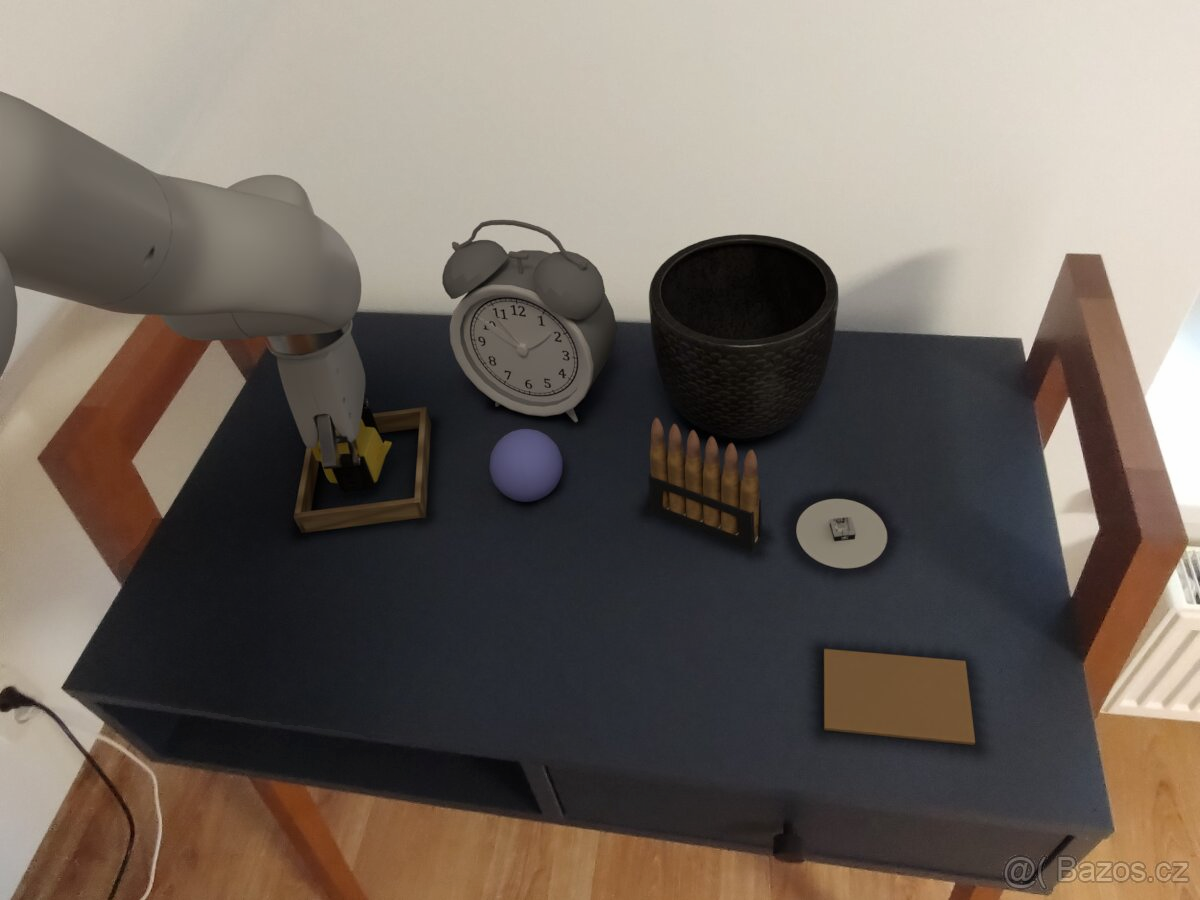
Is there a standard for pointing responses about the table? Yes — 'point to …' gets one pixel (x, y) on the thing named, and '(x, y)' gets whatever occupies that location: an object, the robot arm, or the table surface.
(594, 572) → the table surface
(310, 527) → the wooden frame
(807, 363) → the planter
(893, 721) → the cork mat
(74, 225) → the robot arm
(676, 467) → the ammunition clip
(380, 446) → the teapot
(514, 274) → the alarm clock
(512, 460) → the sphere
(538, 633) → the table surface
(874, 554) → the white round disc
